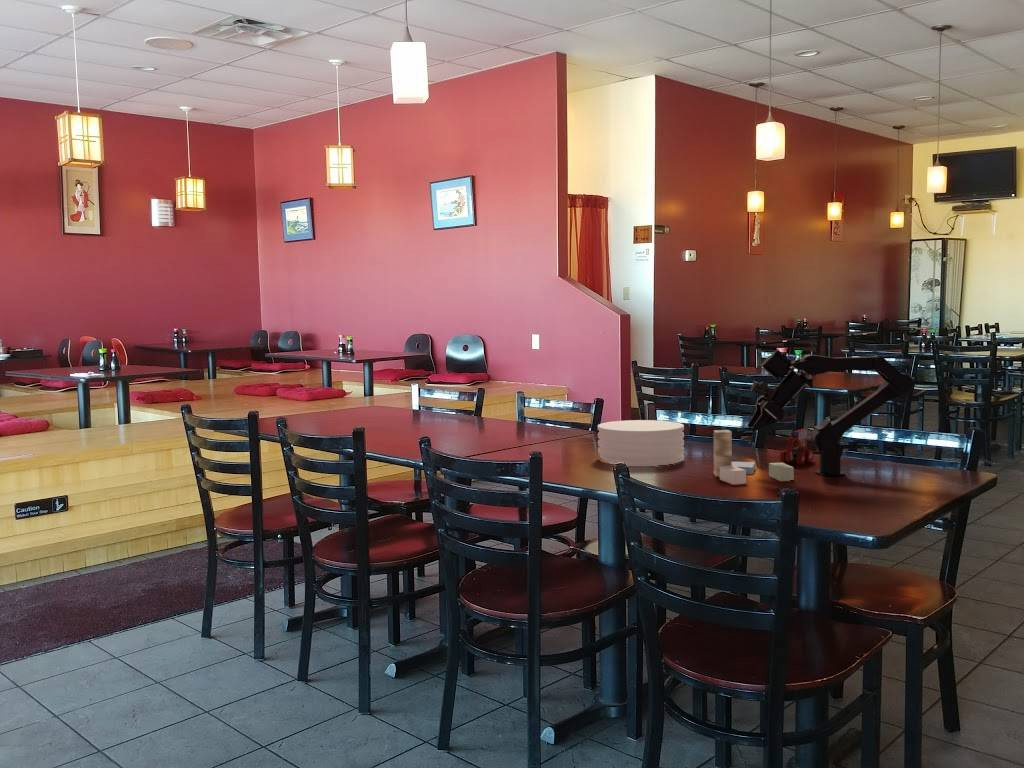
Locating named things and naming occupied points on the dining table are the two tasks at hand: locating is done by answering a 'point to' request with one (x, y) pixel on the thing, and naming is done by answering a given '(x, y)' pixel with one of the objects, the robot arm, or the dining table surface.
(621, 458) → the plate stack
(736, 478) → the cream brick
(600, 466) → the dining table surface
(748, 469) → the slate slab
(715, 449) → the birch pillar
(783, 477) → the sage brick
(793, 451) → the toy fire truck
